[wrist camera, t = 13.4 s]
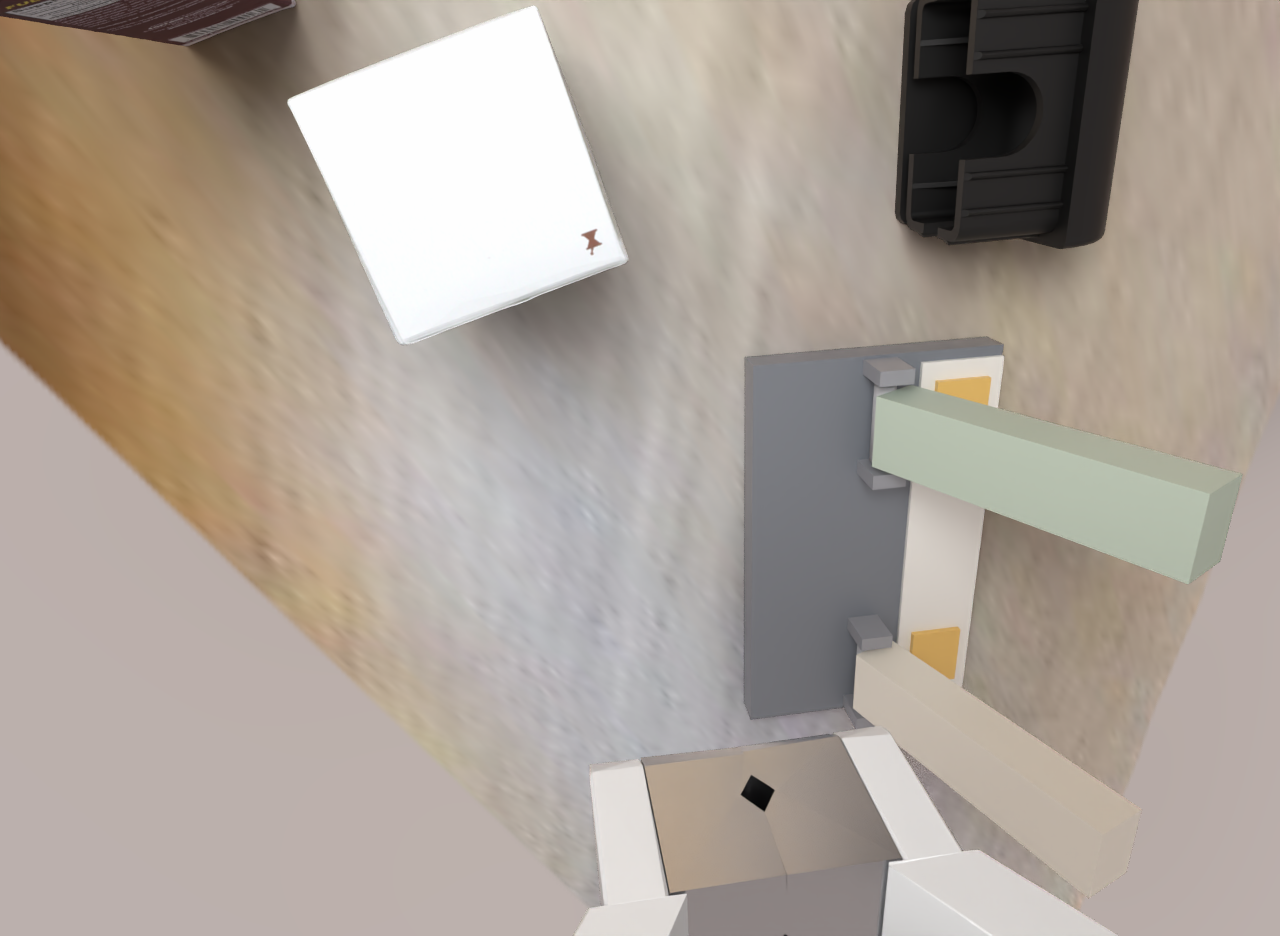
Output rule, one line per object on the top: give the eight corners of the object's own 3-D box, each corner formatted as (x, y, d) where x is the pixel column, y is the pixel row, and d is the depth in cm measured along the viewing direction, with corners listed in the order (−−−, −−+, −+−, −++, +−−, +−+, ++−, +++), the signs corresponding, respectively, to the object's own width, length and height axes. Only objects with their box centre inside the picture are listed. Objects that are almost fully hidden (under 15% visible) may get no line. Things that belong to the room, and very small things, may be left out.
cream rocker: (839, 700, 46) (1087, 901, 34) (843, 642, 44) (1104, 831, 32) (873, 684, 47) (1125, 875, 35) (877, 628, 45) (1142, 806, 33)
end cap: (1039, 221, 39) (1138, 242, 33) (892, 235, 39) (965, 259, 32) (1068, -26, 35) (1186, -55, 29) (905, -16, 35) (991, -43, 28)
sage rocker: (854, 463, 40) (1187, 588, 29) (859, 388, 38) (1211, 489, 27) (888, 450, 41) (1219, 565, 30) (893, 377, 40) (1243, 470, 29)
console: (743, 702, 48) (760, 744, 44) (744, 357, 40) (764, 378, 36) (947, 675, 49) (977, 715, 46) (987, 336, 41) (1027, 355, 38)
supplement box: (534, 33, 33) (547, -6, 22) (597, 218, 36) (637, 269, 25) (358, 98, 33) (277, 93, 22) (435, 277, 36) (400, 355, 25)
